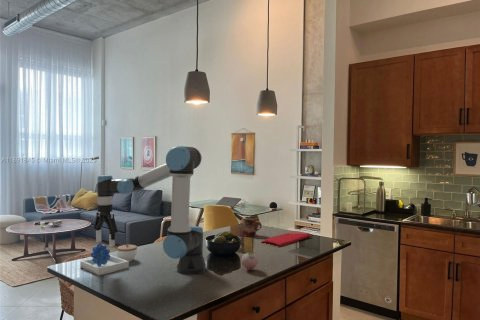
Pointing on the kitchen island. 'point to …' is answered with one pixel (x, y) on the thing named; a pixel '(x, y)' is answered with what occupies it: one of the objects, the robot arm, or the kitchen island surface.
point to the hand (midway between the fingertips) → (105, 244)
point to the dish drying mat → (286, 238)
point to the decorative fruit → (249, 260)
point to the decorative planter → (249, 226)
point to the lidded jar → (127, 252)
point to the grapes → (100, 254)
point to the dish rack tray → (111, 265)
